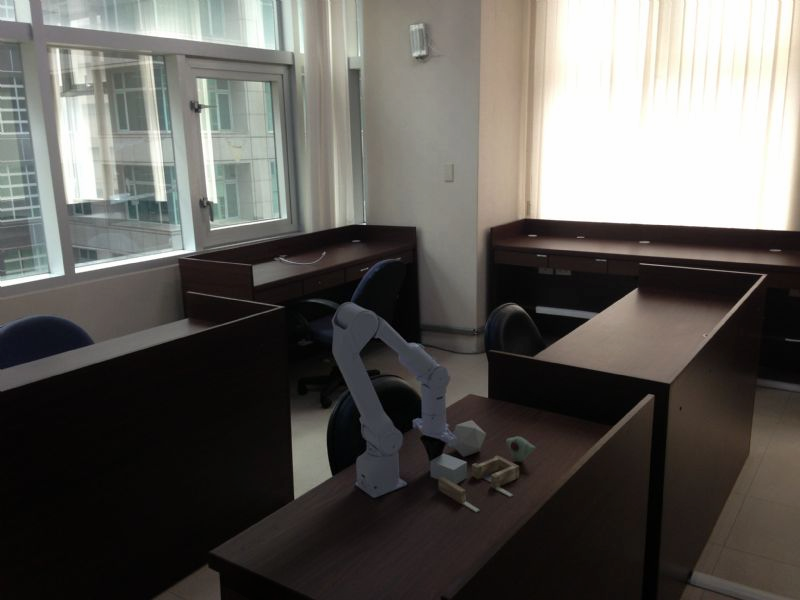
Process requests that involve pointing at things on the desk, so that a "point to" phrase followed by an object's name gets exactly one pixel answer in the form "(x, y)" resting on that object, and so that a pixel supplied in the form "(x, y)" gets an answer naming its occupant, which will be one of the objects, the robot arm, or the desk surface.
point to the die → (468, 438)
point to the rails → (477, 508)
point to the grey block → (449, 468)
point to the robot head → (519, 448)
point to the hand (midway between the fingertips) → (434, 463)
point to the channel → (491, 470)
